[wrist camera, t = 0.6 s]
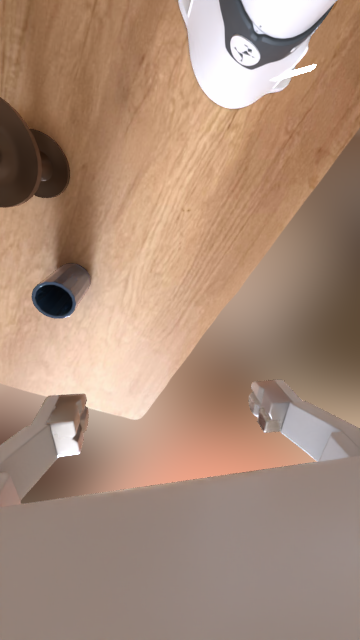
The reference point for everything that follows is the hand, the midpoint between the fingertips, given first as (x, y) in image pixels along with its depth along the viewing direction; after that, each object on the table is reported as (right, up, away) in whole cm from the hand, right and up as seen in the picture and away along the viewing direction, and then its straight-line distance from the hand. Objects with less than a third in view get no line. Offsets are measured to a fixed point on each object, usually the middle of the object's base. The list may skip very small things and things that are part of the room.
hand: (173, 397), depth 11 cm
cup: (-22, +12, +35) cm, 43 cm away
